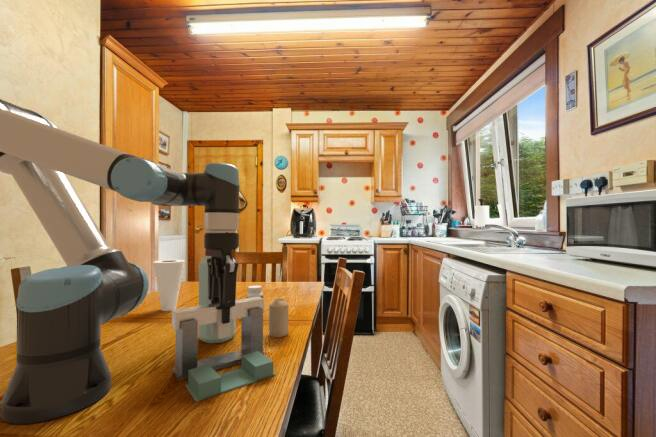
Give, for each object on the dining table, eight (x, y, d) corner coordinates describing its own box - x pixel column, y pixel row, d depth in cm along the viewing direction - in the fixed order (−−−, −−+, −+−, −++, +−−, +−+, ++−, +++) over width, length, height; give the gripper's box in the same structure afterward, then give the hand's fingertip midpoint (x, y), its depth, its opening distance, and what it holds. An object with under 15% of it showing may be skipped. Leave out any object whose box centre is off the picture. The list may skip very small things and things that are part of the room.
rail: (175, 330, 64) (175, 312, 64) (171, 326, 67) (171, 309, 67) (264, 313, 77) (264, 298, 77) (258, 310, 79) (258, 296, 79)
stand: (179, 381, 63) (179, 323, 63) (172, 371, 68) (173, 317, 68) (264, 356, 75) (264, 308, 75) (254, 349, 79) (254, 303, 80)
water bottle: (224, 345, 82) (224, 250, 82) (190, 343, 84) (190, 249, 84) (242, 333, 92) (242, 247, 92) (211, 330, 94) (211, 246, 94)
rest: (195, 401, 56) (196, 384, 56) (185, 386, 61) (185, 370, 62) (275, 375, 66) (275, 360, 66) (260, 363, 71) (260, 350, 71)
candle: (279, 338, 87) (279, 302, 87) (265, 335, 90) (265, 300, 90) (292, 332, 92) (292, 298, 92) (277, 329, 95) (277, 296, 95)
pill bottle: (266, 314, 111) (266, 286, 111) (254, 318, 106) (255, 288, 106) (255, 311, 114) (255, 284, 114) (243, 315, 109) (243, 287, 109)
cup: (175, 313, 112) (176, 262, 112) (146, 313, 112) (146, 262, 112) (189, 305, 123) (189, 259, 123) (162, 305, 123) (162, 259, 123)
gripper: (252, 232, 68) (251, 341, 68) (225, 231, 81) (224, 322, 80) (217, 232, 63) (216, 349, 63) (194, 231, 76) (193, 328, 75)
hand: (221, 334), depth 71 cm, fingers closed on rail, 3 cm apart
